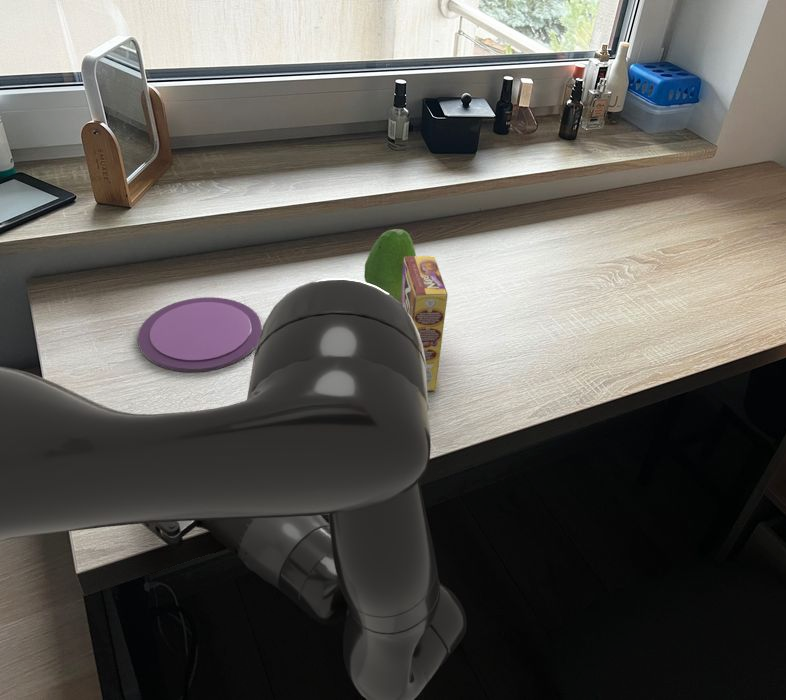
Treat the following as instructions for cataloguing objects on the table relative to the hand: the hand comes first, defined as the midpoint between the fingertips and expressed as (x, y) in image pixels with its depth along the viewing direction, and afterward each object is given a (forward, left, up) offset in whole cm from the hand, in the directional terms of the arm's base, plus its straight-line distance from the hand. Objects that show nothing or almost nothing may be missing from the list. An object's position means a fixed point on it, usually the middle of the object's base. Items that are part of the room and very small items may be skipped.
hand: (169, 445), depth 74 cm
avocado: (+40, +15, -6) cm, 43 cm away
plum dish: (+14, +23, -6) cm, 27 cm away
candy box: (+33, 0, -6) cm, 34 cm away
